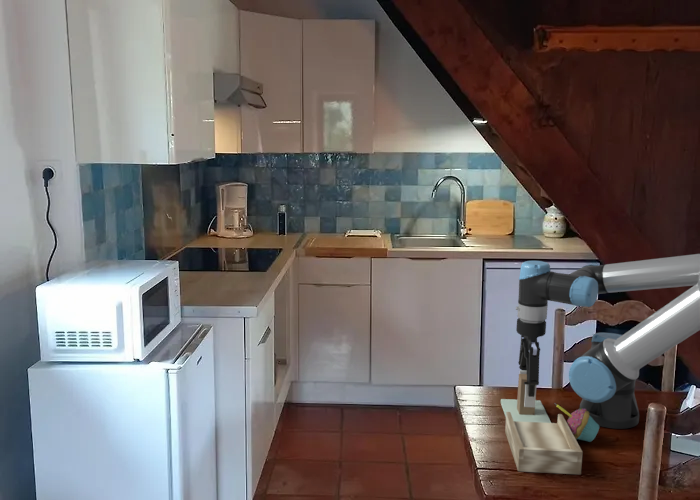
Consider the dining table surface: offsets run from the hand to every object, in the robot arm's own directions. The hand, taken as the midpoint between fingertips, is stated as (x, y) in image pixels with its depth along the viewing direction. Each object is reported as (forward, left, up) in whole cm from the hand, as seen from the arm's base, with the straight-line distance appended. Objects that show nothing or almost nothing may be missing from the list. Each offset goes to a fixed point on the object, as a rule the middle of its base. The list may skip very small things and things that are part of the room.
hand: (526, 399), depth 180 cm
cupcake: (-14, +14, -3) cm, 20 cm away
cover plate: (0, 0, -5) cm, 5 cm away
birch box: (0, +20, -5) cm, 21 cm away
